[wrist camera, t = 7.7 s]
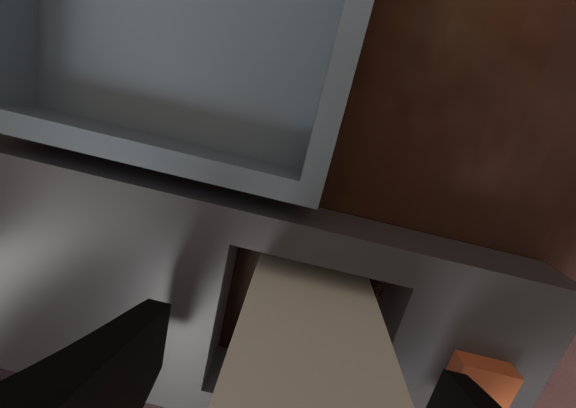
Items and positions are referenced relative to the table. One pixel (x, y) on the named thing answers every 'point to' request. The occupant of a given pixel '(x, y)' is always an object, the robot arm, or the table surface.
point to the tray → (187, 85)
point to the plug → (309, 343)
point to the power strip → (220, 265)
